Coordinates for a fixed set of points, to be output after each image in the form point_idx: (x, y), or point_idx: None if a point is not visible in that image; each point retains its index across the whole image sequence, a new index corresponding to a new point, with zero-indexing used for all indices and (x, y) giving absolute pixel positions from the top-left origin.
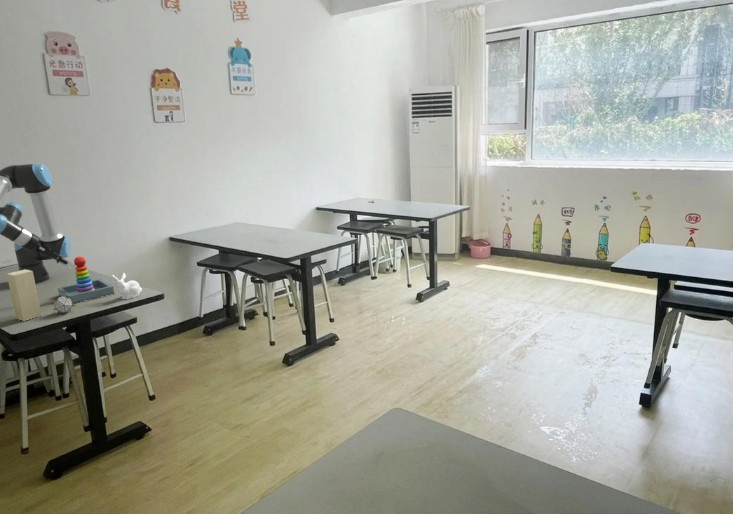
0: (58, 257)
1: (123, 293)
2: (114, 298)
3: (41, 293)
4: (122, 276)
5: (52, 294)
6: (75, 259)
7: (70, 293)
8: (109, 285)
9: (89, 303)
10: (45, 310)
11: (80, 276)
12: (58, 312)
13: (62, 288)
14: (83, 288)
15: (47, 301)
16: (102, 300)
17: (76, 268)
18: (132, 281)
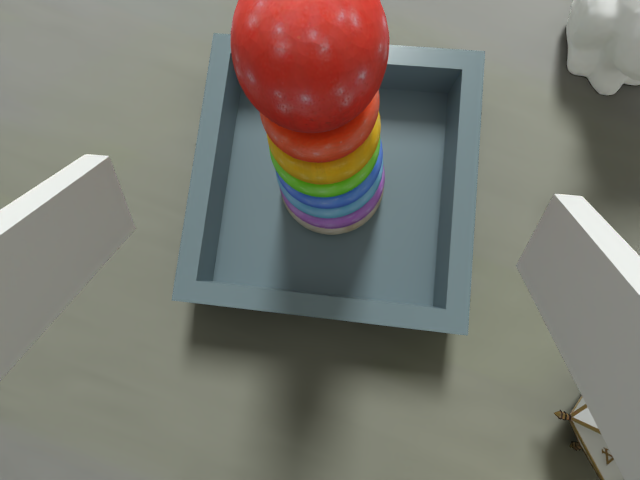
0: (27, 263)
1: None
2: (554, 116)
3: (40, 345)
4: None
5: (126, 311)
6: (320, 79)
7: (242, 246)
8: (441, 57)
9: (526, 245)
10: (435, 470)
11: (366, 170)
12: (580, 447)
13: (198, 277)
14: (376, 198)
15: (249, 388)
16: (532, 175)
17: (331, 152)
18: None
